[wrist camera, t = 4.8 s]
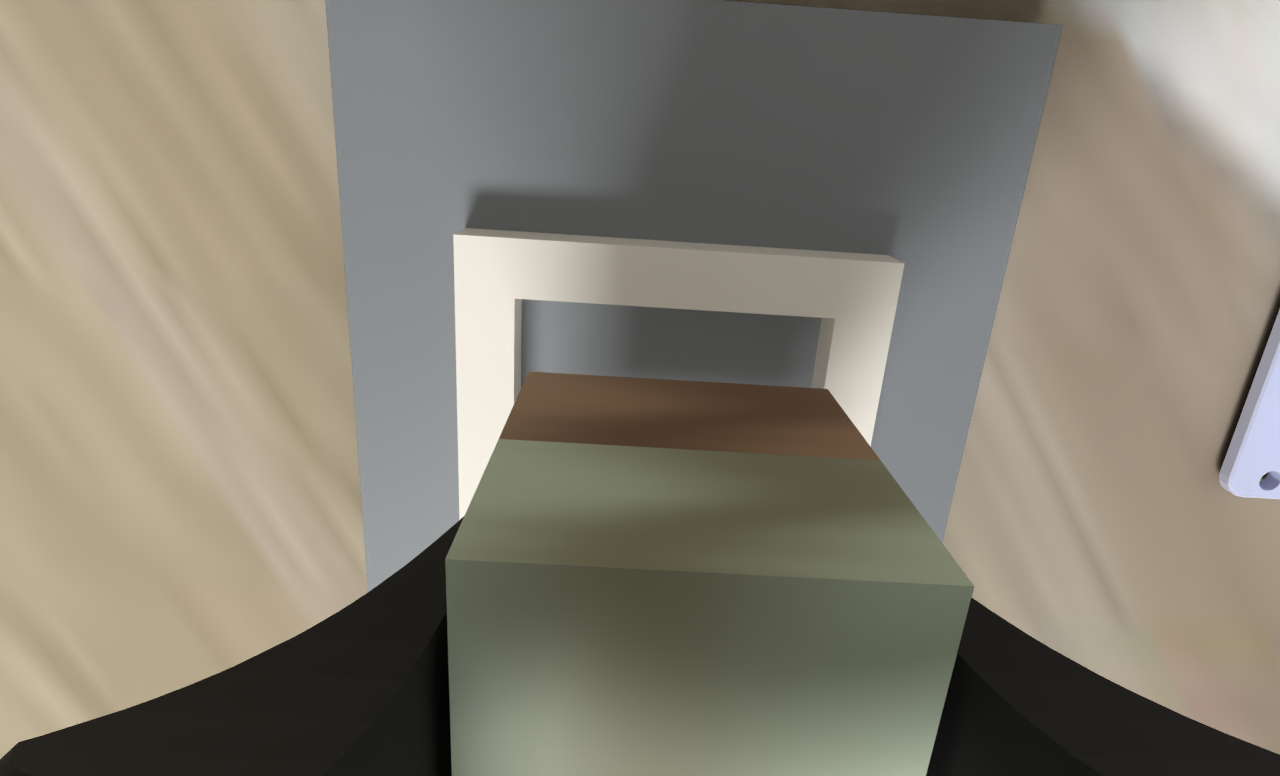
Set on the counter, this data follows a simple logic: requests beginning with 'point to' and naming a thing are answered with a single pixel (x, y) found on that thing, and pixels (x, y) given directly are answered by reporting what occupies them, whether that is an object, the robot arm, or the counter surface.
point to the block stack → (694, 590)
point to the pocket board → (668, 219)
